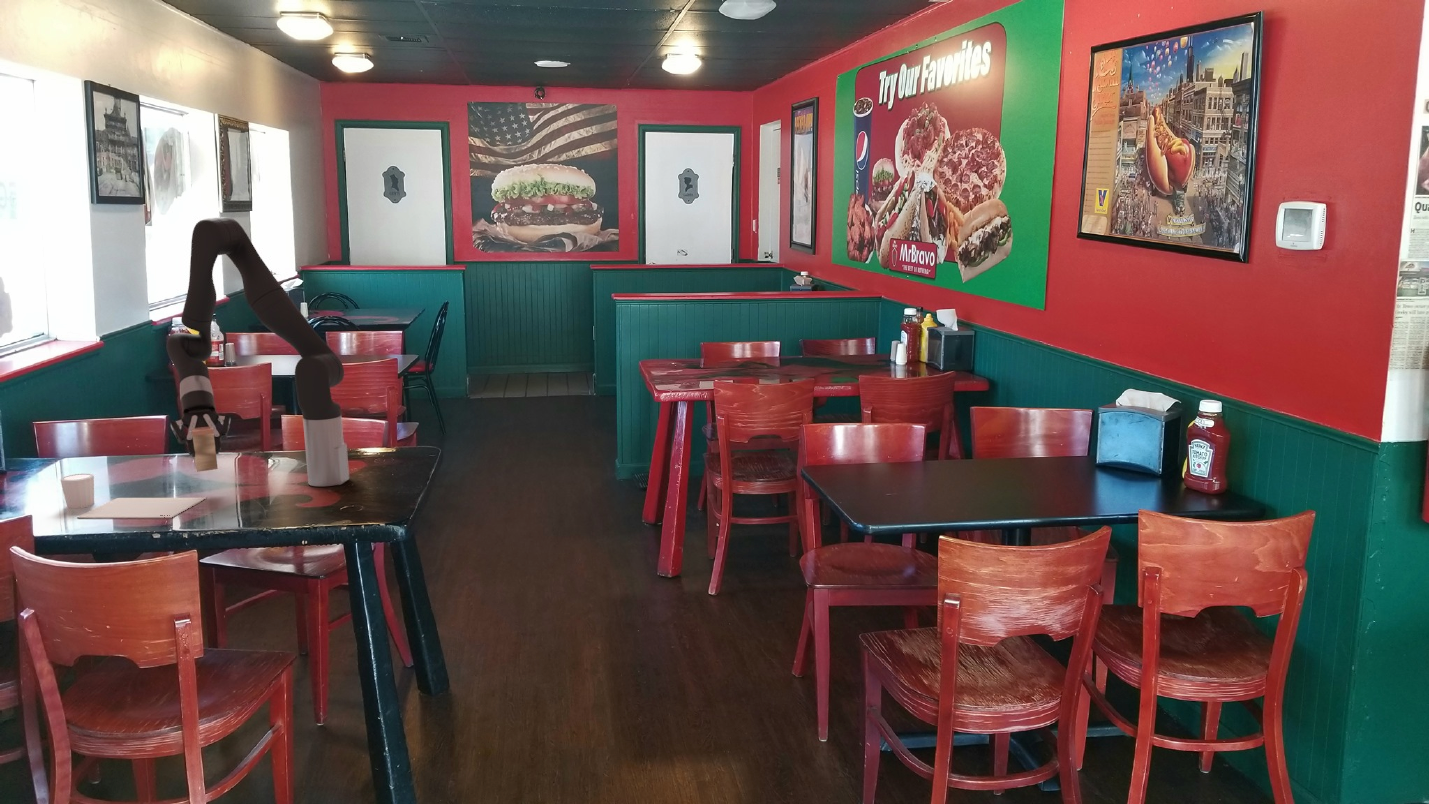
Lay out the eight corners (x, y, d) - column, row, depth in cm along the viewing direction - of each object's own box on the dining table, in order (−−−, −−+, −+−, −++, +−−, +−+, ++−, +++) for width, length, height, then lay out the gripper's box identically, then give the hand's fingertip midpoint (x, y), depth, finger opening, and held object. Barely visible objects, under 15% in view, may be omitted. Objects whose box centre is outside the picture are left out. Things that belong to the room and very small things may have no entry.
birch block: (216, 465, 265) (211, 426, 263) (217, 469, 261) (213, 429, 259) (196, 467, 263) (191, 428, 261) (197, 471, 259) (192, 431, 257)
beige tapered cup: (81, 509, 250) (78, 481, 248) (57, 508, 251) (53, 479, 250) (103, 501, 256) (100, 473, 255) (79, 500, 258) (75, 472, 256)
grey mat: (206, 498, 258) (206, 497, 258) (171, 518, 242) (171, 517, 242) (117, 499, 258) (117, 497, 258) (77, 518, 243) (76, 517, 243)
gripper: (164, 392, 261) (172, 449, 253) (227, 386, 268) (237, 441, 260) (166, 409, 267) (173, 466, 259) (228, 403, 274) (237, 458, 265)
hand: (205, 453), depth 259 cm, fingers closed on birch block, 4 cm apart
